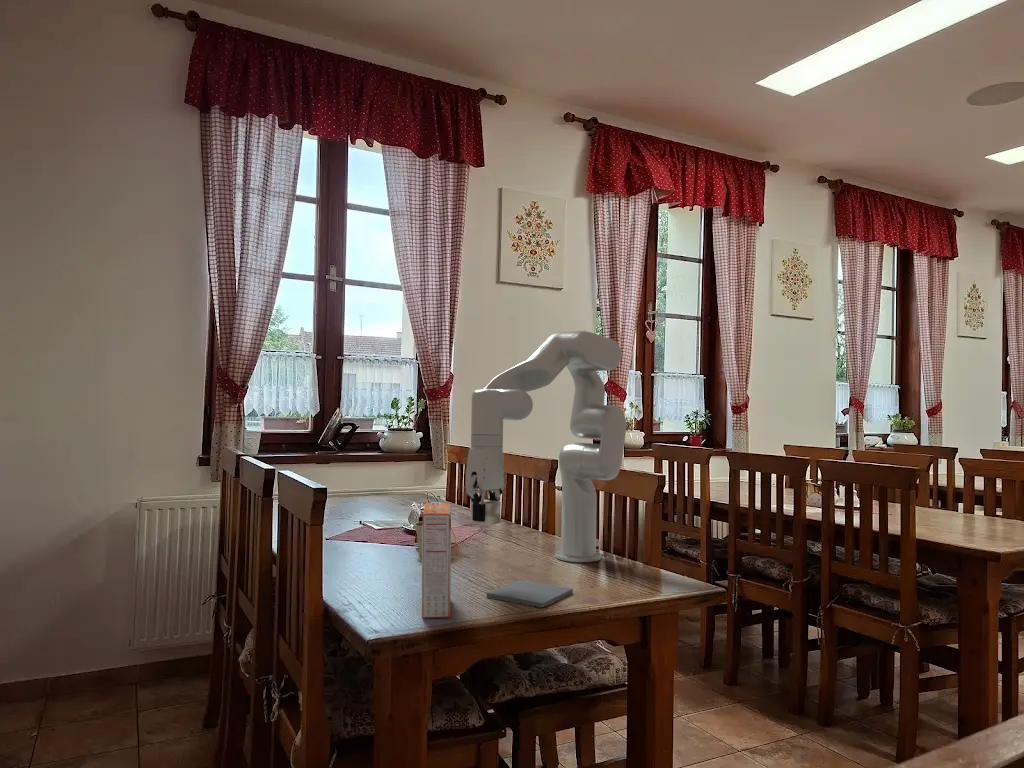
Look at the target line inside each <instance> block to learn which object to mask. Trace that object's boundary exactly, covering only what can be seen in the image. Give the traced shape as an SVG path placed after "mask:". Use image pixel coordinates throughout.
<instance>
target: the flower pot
mask: <svg viewBox="0 0 1024 768" xmlns="http://www.w3.org/2000/svg"><path fill="white" fill-rule="evenodd" d="M413 526H414V528H415V531H416V536H417V545H418V552H419V553H418V554H419V556H420V557H422V521H418V522H415V523H413Z"/></svg>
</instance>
